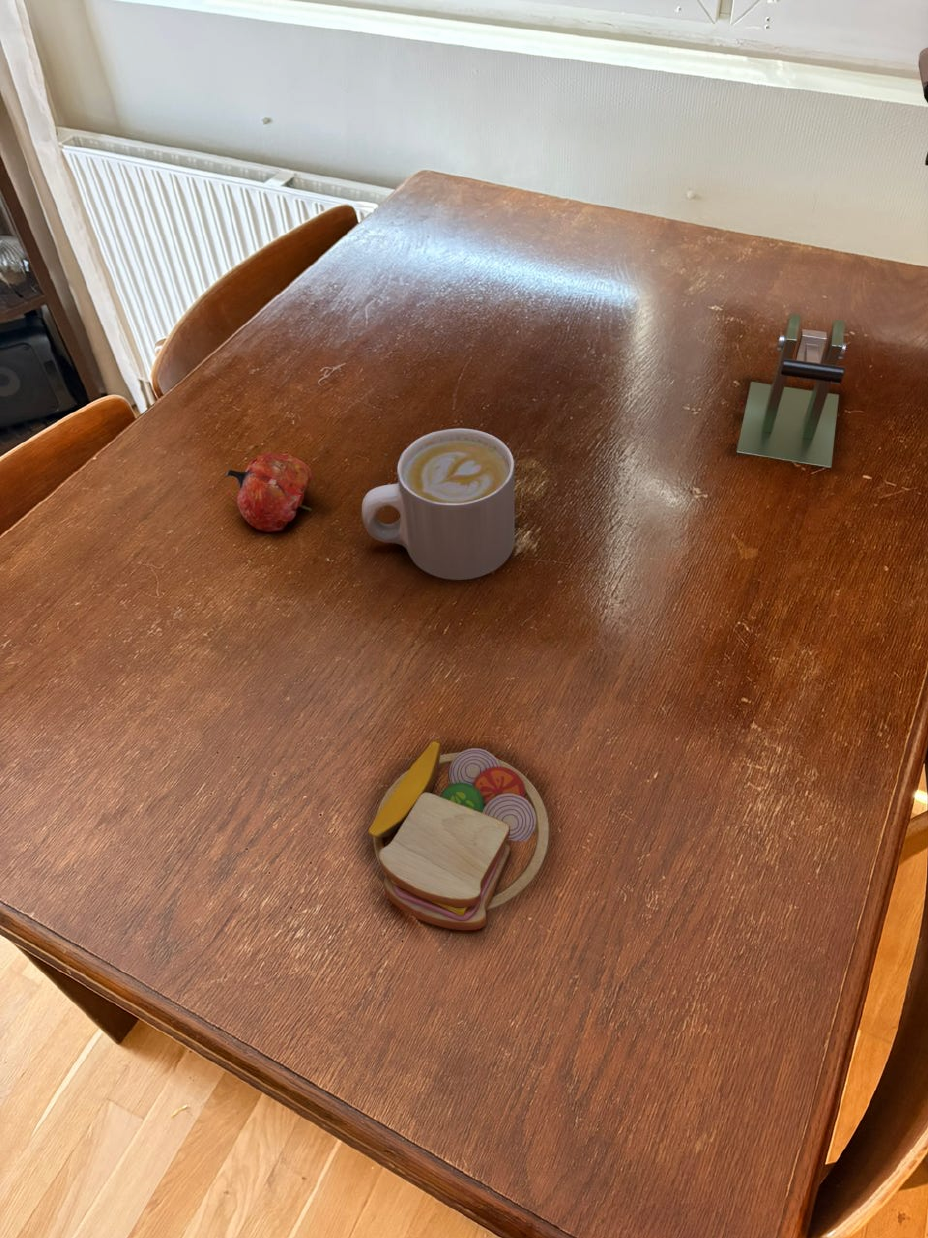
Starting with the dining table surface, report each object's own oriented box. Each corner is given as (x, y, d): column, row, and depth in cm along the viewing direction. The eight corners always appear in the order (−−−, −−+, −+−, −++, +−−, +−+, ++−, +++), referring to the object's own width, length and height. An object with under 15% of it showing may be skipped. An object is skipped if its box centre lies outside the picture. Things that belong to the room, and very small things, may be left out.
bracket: (828, 476, 87) (864, 373, 78) (734, 461, 89) (758, 358, 80) (836, 403, 94) (869, 301, 85) (748, 390, 97) (773, 289, 88)
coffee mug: (516, 512, 86) (516, 428, 78) (512, 589, 80) (512, 506, 72) (378, 509, 87) (365, 427, 79) (364, 585, 81) (348, 503, 73)
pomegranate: (319, 506, 91) (229, 456, 87) (352, 471, 86) (257, 416, 82) (298, 563, 87) (203, 514, 83) (330, 531, 82) (230, 476, 78)
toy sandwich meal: (579, 809, 66) (583, 777, 62) (481, 969, 58) (479, 942, 55) (438, 734, 70) (434, 699, 67) (331, 873, 63) (320, 843, 60)
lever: (838, 391, 76) (846, 363, 75) (778, 382, 78) (785, 354, 76) (834, 359, 85) (842, 333, 84) (780, 351, 87) (787, 326, 85)
